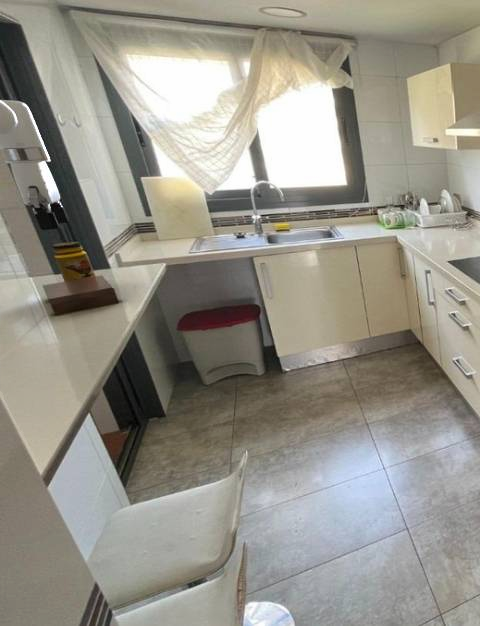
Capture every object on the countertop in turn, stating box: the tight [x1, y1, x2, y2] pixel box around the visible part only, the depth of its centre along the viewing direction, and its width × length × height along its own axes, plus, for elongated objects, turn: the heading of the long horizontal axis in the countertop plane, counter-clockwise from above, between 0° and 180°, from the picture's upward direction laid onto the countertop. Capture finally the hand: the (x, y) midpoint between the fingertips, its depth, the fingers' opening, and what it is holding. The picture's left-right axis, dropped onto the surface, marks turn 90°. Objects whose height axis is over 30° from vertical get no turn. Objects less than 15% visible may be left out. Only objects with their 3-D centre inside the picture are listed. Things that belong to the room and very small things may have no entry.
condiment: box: [51, 241, 97, 282], centre depth 121 cm, size 7×8×12 cm
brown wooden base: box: [42, 275, 120, 317], centre depth 112 cm, size 11×16×4 cm
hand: (56, 226), depth 118 cm, fingers open, 9 cm apart
